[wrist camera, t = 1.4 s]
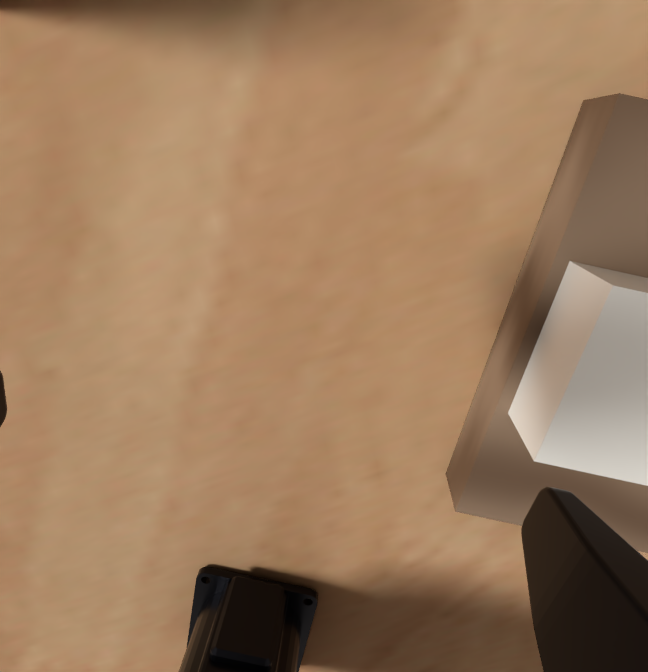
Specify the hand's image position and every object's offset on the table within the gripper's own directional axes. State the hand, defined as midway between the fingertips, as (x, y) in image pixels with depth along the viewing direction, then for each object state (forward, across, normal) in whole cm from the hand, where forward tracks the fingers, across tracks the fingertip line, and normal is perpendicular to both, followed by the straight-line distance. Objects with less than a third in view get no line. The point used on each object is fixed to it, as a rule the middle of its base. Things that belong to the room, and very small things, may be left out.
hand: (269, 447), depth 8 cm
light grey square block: (+10, -11, +1) cm, 15 cm away
